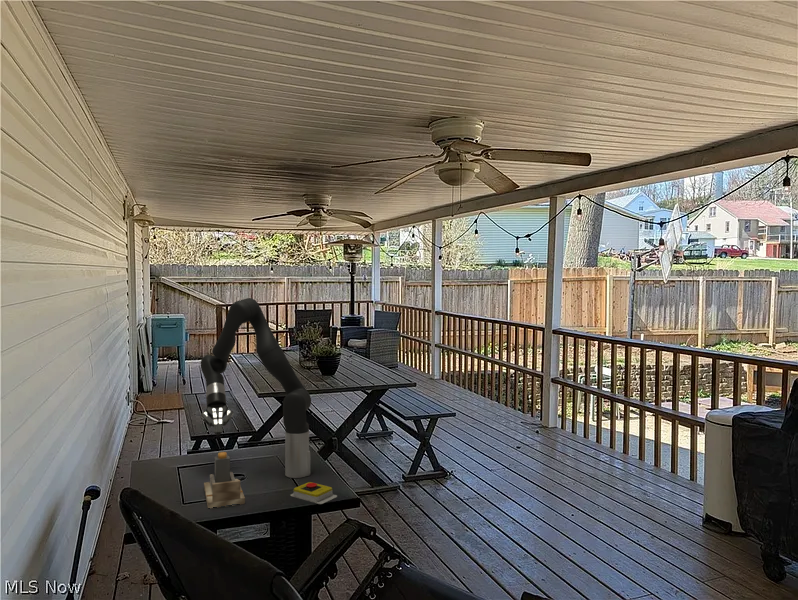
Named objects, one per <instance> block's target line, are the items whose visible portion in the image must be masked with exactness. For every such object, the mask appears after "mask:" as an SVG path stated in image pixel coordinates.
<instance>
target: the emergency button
mask: <svg viewBox="0 0 798 600" xmlns="http://www.w3.org/2000/svg"><path fill="white" fill-rule="evenodd" d="M289 495H290V497H293V498H295V499H296V498H297V499H298V500H299V499H300V500H304V501H307V502H311V503H315V504H318V505H323V504H325V503H327V502H330V501H331V500H333V499H336V498H338V495H337V494H334V493H333V487H331V486H328V485H323V484H319V483H316V482H311V481H308V482H306V483H303V484H301V485H299V486H296V487H294V488H293V493H291V494H289Z"/></svg>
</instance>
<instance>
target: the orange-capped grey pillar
mask: <svg viewBox="0 0 798 600" xmlns="http://www.w3.org/2000/svg"><path fill="white" fill-rule="evenodd" d="M230 472H231V457H230V455H228V454H227V451H220V452H218V454H217V456H214V479H215V483H220V482H228V481H230Z"/></svg>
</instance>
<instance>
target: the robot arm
mask: <svg viewBox="0 0 798 600" xmlns="http://www.w3.org/2000/svg"><path fill="white" fill-rule="evenodd" d="M246 323H250V325H251V327H252V329H253V331H254V333H255V337H256V338H255V339H256V353H257V356H258V358H259V360H260V361H261V363H262V365H263V367H264V368H265V370H266V371H267V372H268V373H269V374H270V375H271V376H272V377H273V378H274V379H276V380H277V382H279V384H280V385H281V386H282V388H283V390H284V392H285V393H286V395H285V396H284V398H283V403H282V418H283V419H282V421H283V425H284V428H285V429H284V435H285V436H284V437H285V439H284V441H285V443H284V446H285V447H284V449H285V450H284V452H285V453H284V454H285V457H284V461H285V463H284V464H285V467H284V468H285V469H284V471H285V472H284V474H285V476H286V477H287V478H291V479H299V478H305V477H307V476H311V451H310V424H309V423H308V422H307V413H306V412H307V410H309V408H310V407H311V405H312V397H311V394H310V393H309V391H308V390H307V389H306V387H305V386H304V385H303V383H302V381H300V379H299V377H298V376H297V374H296V372H295V371H294V369H293V367H292V365H291V363H290V361H289V360H288V358H287V355H286V354H285V352H284V350H283V348H282V347H281V345H280V344H279V342H278V341H277V339H276V336H275V335H274V334H273V331H272V329H271V328H270V326H269V323H268V321H267V319H266V317H265V315H264V312H263V310H262V308H261V306H260V304H259V303H258V301H257V300H256V299H254V298H253V297H247V298H243V299H239V300H236V301H235V302H233V303H232V304H231V305H230V307H229V309H228V312H227V315H226V317H225V321H224V324H223V328H222V330H221V333H220V334H219V337H218V339H217V341H216V342H215V344H214V346H213V348H212V354H211V355H210V354H207V355H204V356H203V357H202V358H201V360H200V370H201V372H202V374H203V376H204V377H203V378H204V379H205V384H206V386H205V388H206V389H205V390H206V391H205V398H206V409H205V412H201V413H200V419H201V420H202V421H203V422H204V423H205V424H206V425H207V426H208V427H213V433H214V434H215V435H216V436H221V434H223V426H226V425H228V423H229V422H230V420H231V419H232V418H233V417H234V413H235V412H234V410H229V408H228V406H227V394H226V389H225V388H226V387H225V379H224V376H223V373H224V372H225V371H226V370H227V367H228V362H229V361H228V360H229V357H230V354H231V353H232V351H233V349H234V347H235V344H236V343H237V336H236V333H237V331H238V330H239V328H240V327H241V326H242V325H243V324H246ZM224 417H225V418H224ZM223 418H224V419H223Z"/></svg>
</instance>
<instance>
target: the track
mask: <svg viewBox="0 0 798 600" xmlns="http://www.w3.org/2000/svg"><path fill="white" fill-rule="evenodd" d="M203 490H204V494H205V500H206V506H207V509H208V508H210V509H214V508H213V507H217V508H222V507H221V506H225V507H227V506H226V505H232V504H240V505H245V503H246V496H245V495H244V491H243V488H242V486H241V479H238V478H235V475H234V472H233V471H230V481H228V482H220V483H215V474H214V473H212V474H209V481H207V482H203ZM232 506H233V505H232Z"/></svg>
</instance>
